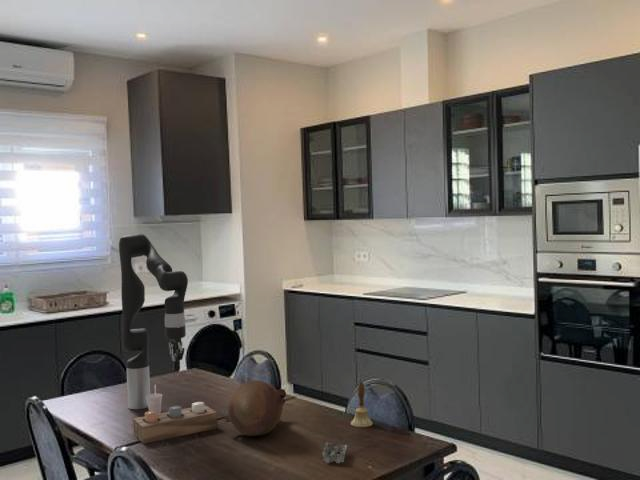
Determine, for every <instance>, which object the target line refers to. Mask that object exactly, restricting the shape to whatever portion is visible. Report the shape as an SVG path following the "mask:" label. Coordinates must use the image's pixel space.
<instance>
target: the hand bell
mask: <svg viewBox="0 0 640 480" xmlns="http://www.w3.org/2000/svg"><path fill="white" fill-rule="evenodd" d="M365 392H366V391H365V384H364V382H363V381H359V383H358V387H357V394H358V395H357V396H358V399H359V402H358V405H359V406H358V407H357V408H356V409H355V413H354V418H353V420H351V421H350V425H351V426H353V427H355V428H369V427H371V426H373V421H372V420H371V419H370V417H369V416H370V415H369V413H368V409H367V408H365V405H364V403H365V402H364V396H365V394H366V393H365Z"/></svg>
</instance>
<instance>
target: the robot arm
mask: <svg viewBox="0 0 640 480" xmlns="http://www.w3.org/2000/svg"><path fill="white" fill-rule="evenodd" d="M118 242H119V243H118V252H119V262H120V271H121V291H120V292H121V309H122V310H121V311H122V312H121V314H122V320H121V321H122V324H121V325H122V328H121V347H122V350H123V351H124V352H126V353H127V352H138V351H140V352H139V353H138V354H137V355H135V356H133V357H130V358H129V359H127V361H126V363H125V364H126V380H127V381H126V386H127V406H128V409H130V410H144V409H148V403H147V399H146V396H147V395H149V394H151V382H150V381H151V379H150V377H151V376H150V362H149V361H150V360H149V359H150V358H149V345H150V344H149V343H150V342H149V337H150V336H149V332H148V331H149V330H148V329H146V328H145V327H144V328H143V327H141V328H132V329H131V326H132V324H133V322H134V320H135V318H136V316H137V315H138V314H139V312H140V311H141V309H142V307H143V305H144V303H145V301H146V299H145V297H146V295H145V294H146V293H145V290H146V289H145V285H144V284H145V283H143V281H142V280H141V278H140V277H139V276H138V274H137V273H136V271H135V270H134V267H133V263H132V259H134V258H139V257H143V256H144V257H146V263H145V264H146V269H147V270H148V272H149V273H150V274H151V275H153V277H155V279H156V281H157V283H158V286H159V289H160V290H162V291H165V292H172V291H174V292H173V294H172V295H170V296H168V297H166V298H164V338H166V339H167V340H168V339H169V343H167V349H168V352H169V356H170V359H171V361H172V370H173V371H174V372H179V371H181V360H183V358H184V355H185V354H184V353H185V351H186V350H185V348H184V347H183V341H182V339H183V338H185V337H186V332H187V331H186V317H185V304H184V303H185V298H186V293H187V288H188V284H189V283H188V282H189V279H188V275H187V274H186V273H185V272H184V271H182V270H177V271H173V268H172V266H171V265H170V264H169V263H168V262H167V261H166V260H165V259H164V258H163V257H162V256H161V255H160V254H159V253H158V251H157V249H156V248H155V246H154V245H153V243H152V242H151V241H150V240H149V238H148V237H147V236H146V235H145V234H143V233H135V234H128V235H123V236H121V237H120V238H119V240H118Z"/></svg>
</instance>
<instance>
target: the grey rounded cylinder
mask: <svg viewBox="0 0 640 480" xmlns="http://www.w3.org/2000/svg"><path fill="white" fill-rule="evenodd" d="M182 409H183V408H182V406H179V405H175V406H170V407H169V408H168V412H169V418H176V417H181V416H182Z"/></svg>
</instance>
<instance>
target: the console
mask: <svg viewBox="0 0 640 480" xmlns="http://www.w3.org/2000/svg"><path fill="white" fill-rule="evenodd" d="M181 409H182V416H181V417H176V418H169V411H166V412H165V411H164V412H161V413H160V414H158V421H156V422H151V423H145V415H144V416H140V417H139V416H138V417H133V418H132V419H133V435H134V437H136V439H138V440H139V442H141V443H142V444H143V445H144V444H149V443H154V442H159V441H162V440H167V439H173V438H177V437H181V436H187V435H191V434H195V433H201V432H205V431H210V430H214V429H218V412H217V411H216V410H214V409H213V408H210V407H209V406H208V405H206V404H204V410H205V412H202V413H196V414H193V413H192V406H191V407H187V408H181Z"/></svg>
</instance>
